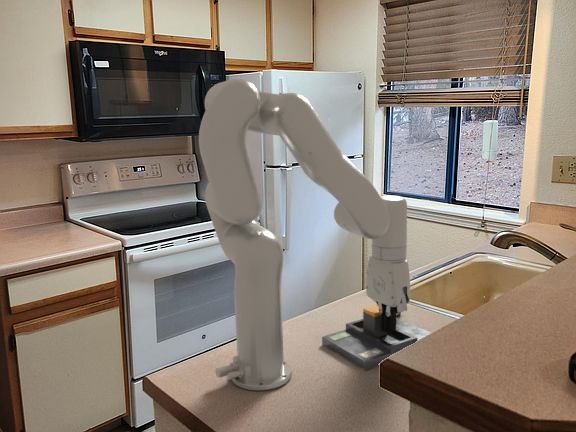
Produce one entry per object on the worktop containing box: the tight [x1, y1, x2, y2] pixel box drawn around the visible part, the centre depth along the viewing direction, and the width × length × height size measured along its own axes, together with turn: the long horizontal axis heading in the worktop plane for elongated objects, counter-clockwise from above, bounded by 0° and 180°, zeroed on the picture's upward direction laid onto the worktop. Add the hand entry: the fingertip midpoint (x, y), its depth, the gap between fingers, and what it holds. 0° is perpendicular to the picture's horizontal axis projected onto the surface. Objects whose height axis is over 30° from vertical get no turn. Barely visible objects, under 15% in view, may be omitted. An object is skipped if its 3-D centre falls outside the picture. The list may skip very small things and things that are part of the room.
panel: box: [321, 316, 432, 372], centre depth 123 cm, size 22×16×4 cm
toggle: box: [362, 304, 388, 337], centre depth 123 cm, size 4×4×6 cm
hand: (388, 330), depth 120 cm, fingers closed
